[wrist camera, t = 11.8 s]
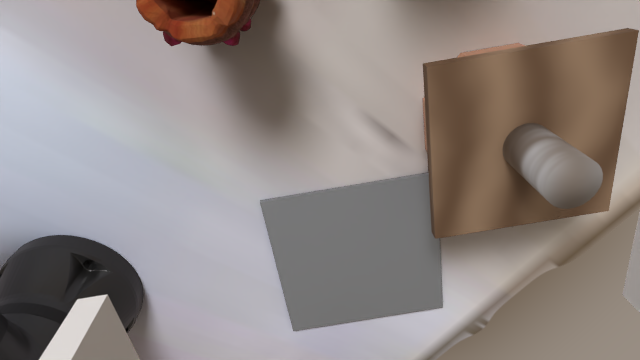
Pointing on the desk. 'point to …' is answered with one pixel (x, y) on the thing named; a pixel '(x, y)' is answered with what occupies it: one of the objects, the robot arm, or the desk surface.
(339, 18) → the desk surface
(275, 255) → the mat
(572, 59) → the lid
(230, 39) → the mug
